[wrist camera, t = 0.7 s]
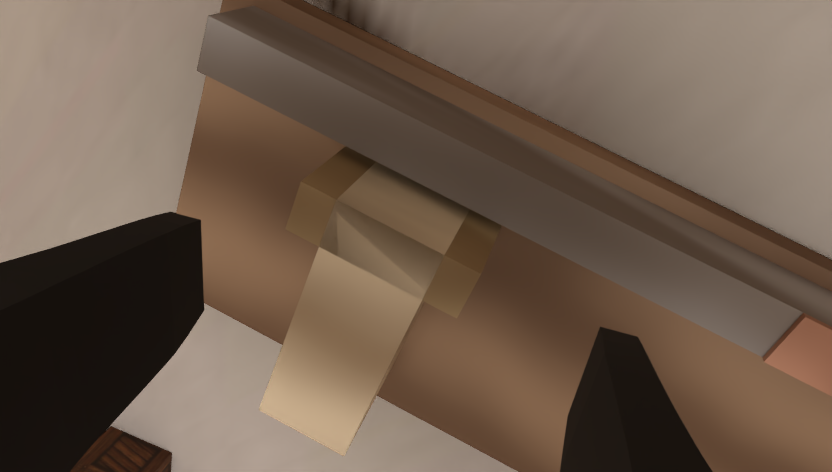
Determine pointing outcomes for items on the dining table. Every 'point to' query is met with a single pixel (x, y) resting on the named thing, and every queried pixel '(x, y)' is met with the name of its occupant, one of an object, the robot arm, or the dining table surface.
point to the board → (508, 249)
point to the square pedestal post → (366, 288)
